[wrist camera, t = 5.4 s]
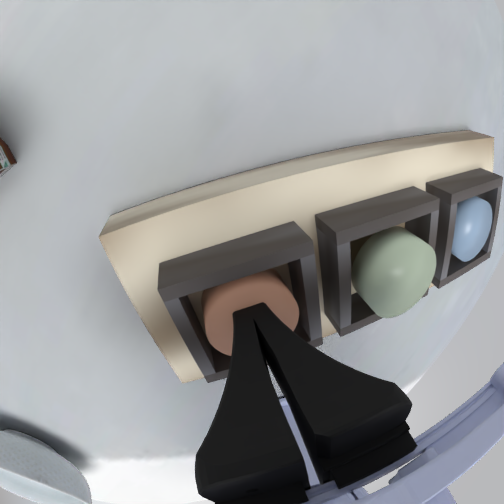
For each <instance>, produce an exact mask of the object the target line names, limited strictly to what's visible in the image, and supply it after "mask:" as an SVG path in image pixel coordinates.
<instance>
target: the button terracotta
mask: <svg viewBox="0 0 504 504" xmlns="http://www.w3.org/2000/svg"><path fill="white" fill-rule="evenodd" d="M261 302H264V303H266V304H267V306H268V307H269V308H270V309H271V311H272V312H273V313H274V314H275V315H276V316H277V317H278V318H279V319H280V320H281V321H282V322H283V323H284V324H285V325H286V326H288V327H289V328H290V329H291V330H292V331H294V330H295V328H296V325H297V323H298V319H299V308H298V305H297V302H296V300H295V299H294V297H293V295H292V294H291V292H290V290H289V289H288V287H287V286H286V284H285V282H284V281H283V279H282V277H281V276H280V275H279V273H278V272H277V271H276V270H274V269H273V268H270V269H267V270H264V271H261V272H258V273H255V274H252V275H249V276H246V277H243V278H240V279H237V280H234V281H230V282H227V283H224V284H221V285H218V286H215V287H212V288H208V289H205V290H204V291H203V294H202V298H201V306H202V312H203V318H204V323H205V329H206V334H207V338H208V340H209V342H210V343H211V345H212V346H213V347H214V348H215V349H217V350H218V351H220V352H221V353H223V354H226V355H229V356H231V354H232V344H233V316H232V314H233V312H234V311H237V310H240V309H243V308H246V307H249V306H252V305H255V304H258V303H261Z"/></svg>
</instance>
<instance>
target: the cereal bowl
mask: <svg viewBox="0 0 504 504" xmlns="http://www.w3.org/2000/svg"><path fill="white" fill-rule="evenodd" d="M0 487H1V488H3V489H5V490H7V491H9V492H11V493H14V494H16V495H18V496H20V497H23V498H26V499H28V500H30V501H34V502H36V503H39V504H92V500H91V493H90V488H89V485H88V483H87V481H86V479H85V477H84V476H83V475H82V473H81V472H80V471H79V469H77V468H76V467H75V466H74V465H73V464H72V463H71V462H69V461H68V460H66V459H65V458H64V457H62V456H61V455H59V454H57V452H56V451H55V450H54V449H53V448H51V447H50V446H49V445H47V444H46V443H44V442H42V441H40V440H38V439H36V438H34V437H32V436H30V435H27V434H25V433H22V432H19V431H15V430H8V429H7V430H3V431H1V430H0Z"/></svg>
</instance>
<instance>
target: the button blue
mask: <svg viewBox="0 0 504 504" xmlns="http://www.w3.org/2000/svg"><path fill="white" fill-rule="evenodd" d="M491 224H492V209H491V206H490V204H489V203H488V202H487V201H485V200H483V199H481V198H479V197H477V196H474V197H472V198H469V199H466V200H464V201H461V202H459V203H457V213H456V222H455V230H454V238H453V244H452V251H451V253H452V254H453V255H454V256H456V257H457V258H459V259H460V260H461V261H464V262H467V261H469V260H471V259H473V258H474V257H475V256H476V255H477V254H478V253H479V252H480V250H481V249H482V247H483V246H484V244H485V242H486V240H487V238H488V235H489V232H490V229H491Z"/></svg>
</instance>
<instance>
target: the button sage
mask: <svg viewBox="0 0 504 504" xmlns="http://www.w3.org/2000/svg"><path fill="white" fill-rule="evenodd" d="M435 270H436V255H435V252H434V250H433V248H432V247H431V246H430V245H429V244H427V243H426V242H424V241H423V240H421V239H420V238H418V237H417V236H415V235H414V234H412V233H411V232H409V231H408V230H406V229H405V228H403V227H400V226H393V227H390V228H387V229H385V230H382V231H379V232H376V233H375V234H374V235H372V236H371V237H370V238H369V239H368V240H367V241H366V242H365V243H364V245H363V246H362V247H361V249H360V250H359V252H358V254H357V256H356V258H355V260H354V263H353V267H352V272H351V281H352V285H353V287H354V289H355V291H356V292H357V293H358V294H359V295H360V296H361V297H362V299H363V300H364V301H365V302H366V303H367V304H368V305H369V306H370V308H371V309H372V310H373V311H374V312H375V313H376V314H377V315H378V316H380V317H382V318H392V317H396V316H399V315H401V314H403V313H405V312H406V311H408V310H409V309H410V308H412V307H413V306H414V305H415V304H416V303H417V302H418V301H419V300H420V299H421V298H422V296H423V295H424V294H425V292H426V291H427V289H428V288H429V286H430V284H431V282H432V279H433V277H434V274H435Z"/></svg>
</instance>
